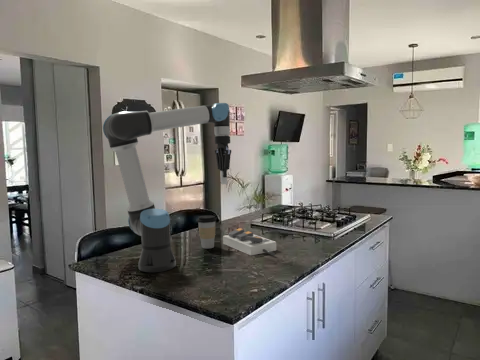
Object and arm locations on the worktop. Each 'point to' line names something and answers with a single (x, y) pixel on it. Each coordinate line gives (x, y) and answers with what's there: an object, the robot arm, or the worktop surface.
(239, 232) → the rocker
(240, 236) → the rocker
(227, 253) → the worktop surface
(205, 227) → the coffee cup
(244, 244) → the power strip
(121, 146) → the robot arm
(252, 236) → the rocker
